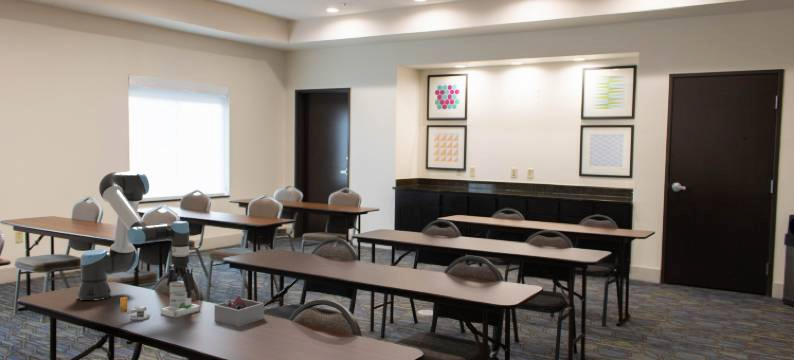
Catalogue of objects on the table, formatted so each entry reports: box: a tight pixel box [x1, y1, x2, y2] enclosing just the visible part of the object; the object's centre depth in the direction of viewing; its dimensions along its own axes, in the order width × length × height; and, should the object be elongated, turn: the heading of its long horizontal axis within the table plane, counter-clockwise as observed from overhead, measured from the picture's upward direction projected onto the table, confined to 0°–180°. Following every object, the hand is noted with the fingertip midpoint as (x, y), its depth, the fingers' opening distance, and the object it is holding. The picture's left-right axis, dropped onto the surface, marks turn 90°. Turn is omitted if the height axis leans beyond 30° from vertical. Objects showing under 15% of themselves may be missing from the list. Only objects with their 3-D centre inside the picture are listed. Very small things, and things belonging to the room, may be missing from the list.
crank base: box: [130, 311, 151, 321], centre depth 274 cm, size 8×8×3 cm
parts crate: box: [214, 298, 265, 328], centre depth 274 cm, size 15×15×7 cm
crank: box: [119, 295, 148, 316], centre depth 270 cm, size 12×5×8 cm, turn 147°
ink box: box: [169, 280, 193, 309], centre depth 283 cm, size 9×5×12 cm, turn 84°
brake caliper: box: [224, 295, 247, 310], centre depth 274 cm, size 11×11×12 cm
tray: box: [160, 303, 201, 319], centre depth 283 cm, size 10×14×2 cm
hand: (180, 303), depth 283 cm, fingers closed on ink box, 9 cm apart
